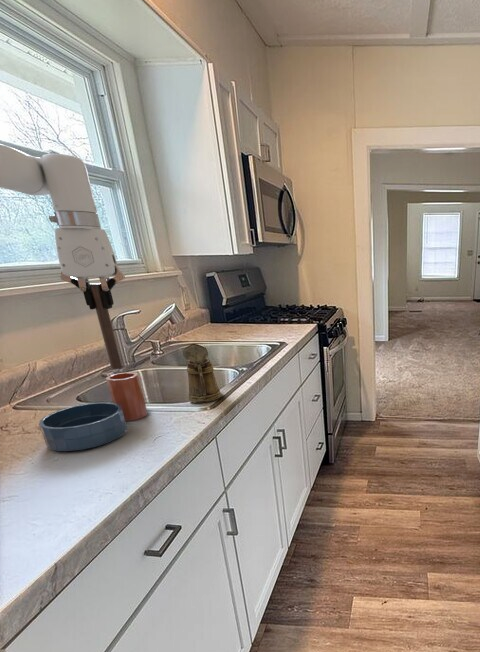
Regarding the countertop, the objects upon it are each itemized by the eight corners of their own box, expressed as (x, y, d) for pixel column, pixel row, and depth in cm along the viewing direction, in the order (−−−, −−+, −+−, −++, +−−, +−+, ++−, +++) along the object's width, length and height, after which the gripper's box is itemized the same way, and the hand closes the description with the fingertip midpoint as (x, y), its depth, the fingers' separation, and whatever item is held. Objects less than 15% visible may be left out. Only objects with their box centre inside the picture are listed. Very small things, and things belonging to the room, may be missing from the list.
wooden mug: (187, 410, 109) (173, 345, 102) (189, 395, 120) (176, 335, 113) (222, 406, 112) (211, 342, 105) (220, 391, 123) (210, 332, 116)
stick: (109, 369, 99) (87, 284, 91) (113, 366, 101) (91, 283, 93) (120, 368, 99) (99, 284, 91) (123, 366, 101) (102, 283, 94)
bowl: (34, 458, 85) (24, 432, 82) (65, 428, 98) (57, 406, 96) (116, 448, 89) (109, 423, 86) (135, 421, 102) (129, 399, 100)
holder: (114, 422, 102) (102, 381, 97) (122, 412, 108) (111, 373, 103) (143, 419, 103) (133, 378, 99) (150, 409, 109) (140, 371, 105)
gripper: (26, 220, 82) (54, 311, 89) (115, 221, 86) (135, 309, 93) (43, 222, 88) (68, 307, 96) (125, 223, 93) (143, 305, 100)
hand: (101, 307), depth 94 cm, fingers closed on stick, 2 cm apart
